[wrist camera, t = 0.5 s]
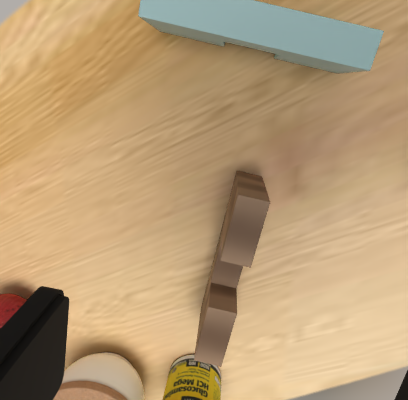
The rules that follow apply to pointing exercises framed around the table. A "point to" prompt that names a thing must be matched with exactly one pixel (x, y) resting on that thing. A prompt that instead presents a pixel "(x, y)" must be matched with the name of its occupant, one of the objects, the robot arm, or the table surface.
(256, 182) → the slotted stand
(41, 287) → the robot arm
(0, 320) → the onion
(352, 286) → the table surface
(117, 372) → the lidded jar
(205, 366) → the pill bottle
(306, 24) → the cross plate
